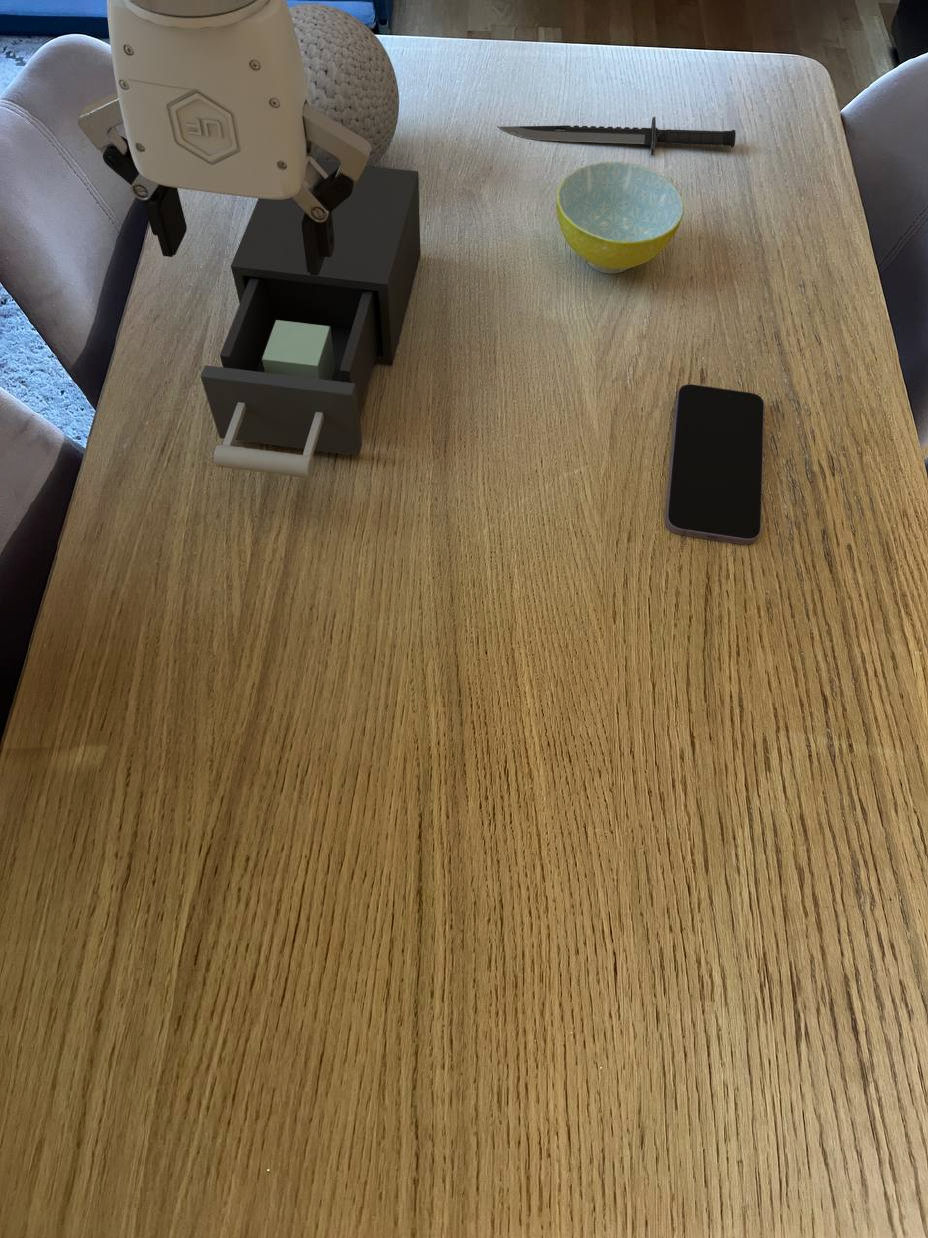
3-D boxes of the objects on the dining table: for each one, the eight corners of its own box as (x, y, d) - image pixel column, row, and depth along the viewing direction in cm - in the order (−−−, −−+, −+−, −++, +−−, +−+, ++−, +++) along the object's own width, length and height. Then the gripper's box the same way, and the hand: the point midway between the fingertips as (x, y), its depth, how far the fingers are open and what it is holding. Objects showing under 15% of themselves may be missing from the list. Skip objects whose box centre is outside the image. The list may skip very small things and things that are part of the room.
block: (270, 399, 73) (261, 358, 70) (284, 360, 76) (275, 319, 72) (324, 406, 73) (317, 365, 69) (335, 367, 75) (330, 325, 72)
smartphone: (665, 527, 70) (678, 381, 77) (662, 535, 70) (675, 390, 78) (761, 541, 69) (765, 394, 76) (757, 549, 70) (761, 403, 77)
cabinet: (392, 365, 78) (387, 283, 71) (250, 348, 79) (230, 265, 72) (420, 255, 86) (418, 170, 78) (289, 240, 86) (275, 155, 79)
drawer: (343, 515, 69) (335, 456, 63) (198, 496, 70) (175, 436, 64) (390, 337, 79) (386, 272, 73) (262, 322, 80) (247, 256, 74)
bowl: (672, 227, 89) (687, 168, 83) (665, 307, 83) (680, 249, 78) (557, 212, 89) (564, 152, 84) (542, 290, 84) (549, 231, 78)
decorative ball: (222, 189, 90) (185, 28, 77) (307, 114, 97) (287, -46, 84) (350, 240, 87) (334, 80, 74) (429, 158, 93) (427, -2, 80)
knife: (494, 138, 94) (498, 106, 96) (494, 154, 96) (498, 122, 98) (736, 146, 92) (735, 114, 94) (732, 162, 94) (731, 130, 96)
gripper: (-6, -24, 44) (100, 273, 59) (346, 17, 44) (364, 307, 58) (52, -93, 48) (137, 202, 63) (375, -55, 47) (385, 233, 62)
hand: (246, 252), depth 60 cm, fingers open, 9 cm apart
